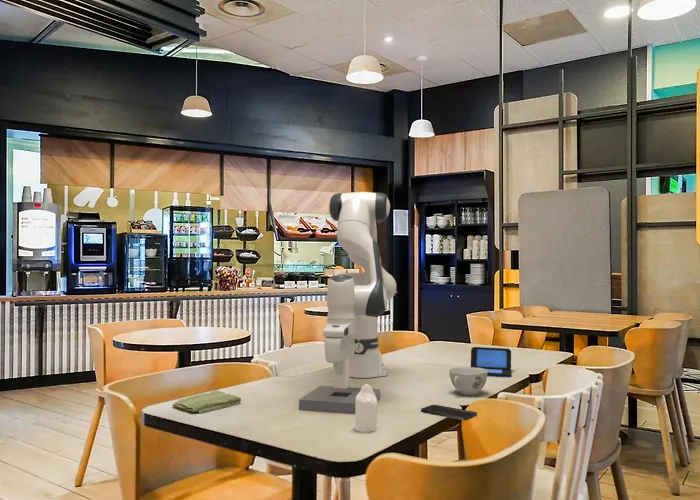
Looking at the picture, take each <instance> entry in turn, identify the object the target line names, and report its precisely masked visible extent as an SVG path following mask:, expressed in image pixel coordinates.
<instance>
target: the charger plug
mask: <svg viewBox="0 0 700 500" xmlns="http://www.w3.org/2000/svg"><path fill="white" fill-rule="evenodd" d="M341 369H342V374H341V375H335V367H334V363H332V386H333V388H345V389H346V388H347V387H350V377H349V357H347V358H345V359H344V360H342V363H341Z"/></svg>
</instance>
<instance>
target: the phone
mask: <svg viewBox="0 0 700 500" xmlns="http://www.w3.org/2000/svg"><path fill="white" fill-rule="evenodd" d="M420 412H421V413H422V412H423V414H428V415H433V416H438V417H444V418H449V419H455V420H460V421H469V420H470V419H473V418H475V417H477V416H478V412H477V411H474V410H473V411H472V410H468V411H467V409H461V408H456V407H450V406H445V405H440V404H439V405H438V404H430V405H427V406H425V407H422V408H421V409H420Z"/></svg>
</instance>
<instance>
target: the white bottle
mask: <svg viewBox="0 0 700 500" xmlns="http://www.w3.org/2000/svg"><path fill="white" fill-rule="evenodd" d="M360 388H361V390H360V392H359V393H358V395H357V396H356V399H355V414H354V417H355V418H354V420H355V421H354V422H355V423H354V424H355V425H354V427H355V431H357V432H360V433H371V432H372V433H373V432H375V431H377V428H378V426H377V423H378V420H377V419H378V401H377V398H376V395H375V393H374V391H373V389H374V388H373V387H372V386H371V385H369V384H368V383H366V384H363V385H362V386H361V387H360Z"/></svg>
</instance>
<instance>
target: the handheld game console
mask: <svg viewBox="0 0 700 500" xmlns="http://www.w3.org/2000/svg"><path fill="white" fill-rule="evenodd" d="M470 367H474V368H484V369H486V370H487V371H488V373H487V377H493V378H495V377H498V378H511V377H512V350H511V349H510V348H505V347H504V348H501V347H500V348H499V347H484V346H483V347H482V346H473V347H472V348H471V350H470Z"/></svg>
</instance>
